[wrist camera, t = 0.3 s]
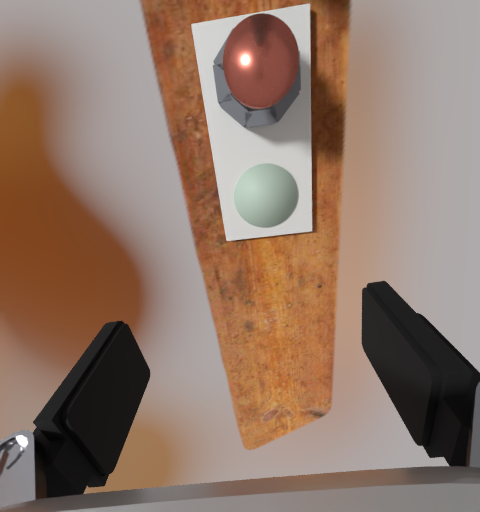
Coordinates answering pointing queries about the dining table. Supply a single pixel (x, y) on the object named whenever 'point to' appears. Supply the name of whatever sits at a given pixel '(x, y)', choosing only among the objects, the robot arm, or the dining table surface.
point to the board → (259, 137)
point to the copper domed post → (260, 60)
